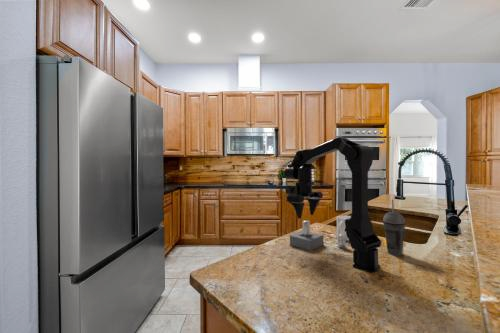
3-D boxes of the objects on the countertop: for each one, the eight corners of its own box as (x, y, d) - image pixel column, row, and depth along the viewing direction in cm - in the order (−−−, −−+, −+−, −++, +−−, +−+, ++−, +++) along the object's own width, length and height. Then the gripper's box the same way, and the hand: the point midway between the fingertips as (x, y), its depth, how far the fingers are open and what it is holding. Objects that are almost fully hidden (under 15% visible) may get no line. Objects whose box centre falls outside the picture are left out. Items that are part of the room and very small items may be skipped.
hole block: (323, 244, 97) (323, 235, 97) (310, 250, 90) (310, 240, 90) (303, 239, 104) (303, 230, 104) (289, 244, 97) (289, 235, 97)
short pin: (347, 247, 93) (346, 235, 93) (343, 249, 91) (343, 236, 91) (339, 245, 95) (339, 233, 95) (336, 247, 93) (336, 235, 93)
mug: (346, 234, 111) (345, 214, 111) (363, 239, 103) (362, 218, 103) (328, 238, 105) (327, 217, 105) (344, 243, 97) (343, 221, 97)
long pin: (311, 244, 97) (311, 221, 97) (307, 246, 95) (307, 222, 95) (305, 243, 99) (305, 220, 99) (301, 244, 97) (301, 221, 97)
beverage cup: (385, 255, 83) (383, 200, 83) (382, 249, 90) (380, 198, 90) (408, 258, 80) (407, 201, 81) (403, 251, 87) (402, 198, 87)
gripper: (301, 178, 109) (302, 211, 109) (276, 180, 97) (277, 217, 97) (322, 179, 101) (323, 214, 101) (297, 181, 89) (298, 221, 88)
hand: (305, 216), depth 97 cm, fingers open, 9 cm apart
